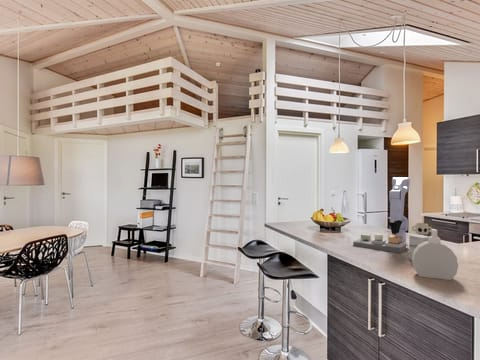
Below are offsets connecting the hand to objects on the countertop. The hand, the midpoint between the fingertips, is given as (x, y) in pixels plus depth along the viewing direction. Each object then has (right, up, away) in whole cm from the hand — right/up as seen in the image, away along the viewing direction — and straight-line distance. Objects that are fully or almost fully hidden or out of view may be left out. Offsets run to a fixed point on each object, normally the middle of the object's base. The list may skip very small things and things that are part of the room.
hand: (395, 233), depth 175 cm
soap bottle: (-9, -10, -49) cm, 50 cm away
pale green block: (-11, -7, +14) cm, 20 cm away
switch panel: (-7, -9, +6) cm, 13 cm away
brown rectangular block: (0, -5, 0) cm, 5 cm away
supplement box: (0, -10, -23) cm, 25 cm away
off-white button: (-7, -5, +5) cm, 10 cm away
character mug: (+25, -10, +16) cm, 32 cm away
